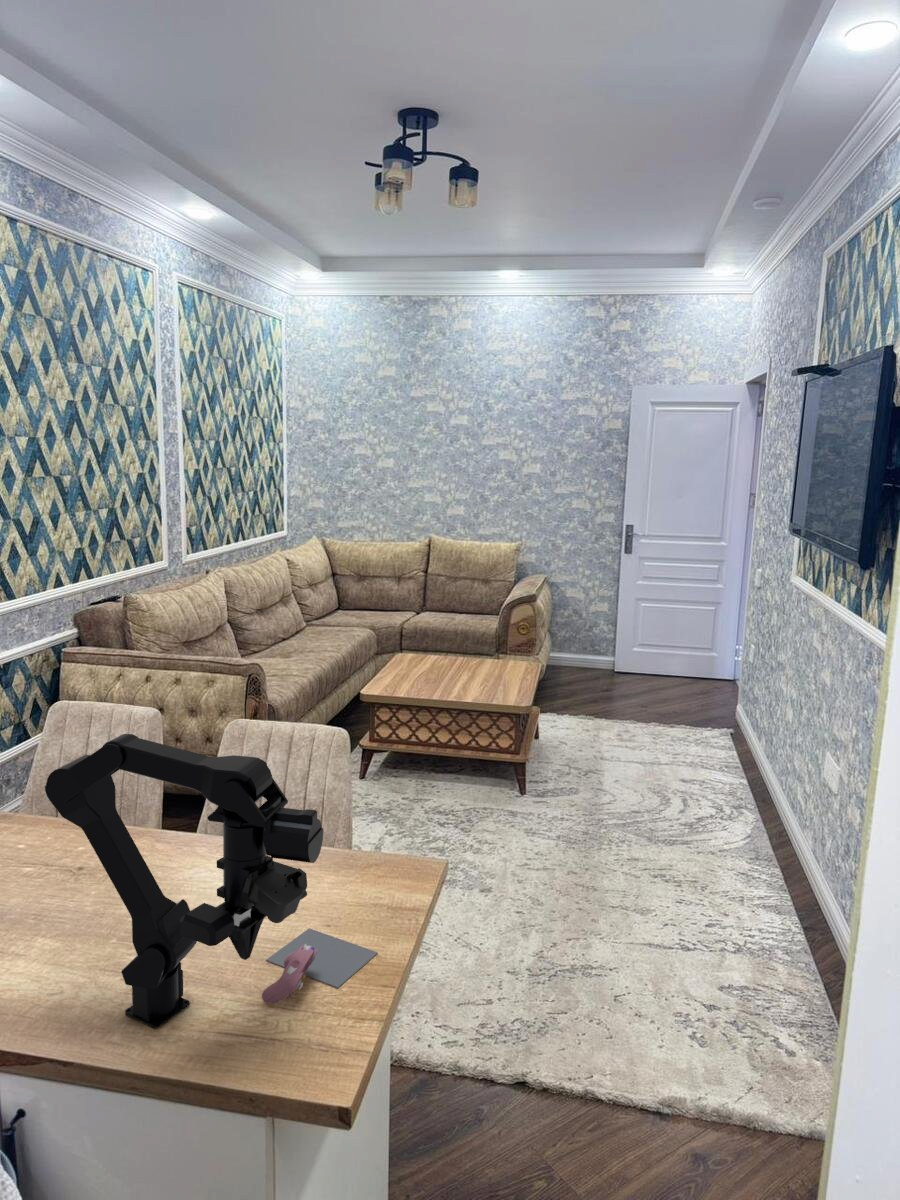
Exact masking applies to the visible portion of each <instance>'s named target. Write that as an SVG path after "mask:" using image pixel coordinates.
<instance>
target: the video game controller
mask: <svg viewBox="0 0 900 1200" xmlns="http://www.w3.org/2000/svg"><path fill="white" fill-rule="evenodd" d="M317 951H318V950H317V949H316V948H314V947H312V946H308V945H306V944H305V945H302V946H301V947H300V948H299V949H298V950H297V951H295V952H293V953H291V954H290V955H288V956H287V957H286V959H285V960H284V966H285V968H284V970H283V973H282V975H281V976H280V977H279V979H277V980H276V981H275V982H273V983H272V984H271V985H269V986H267V987H266V988H265V989H264V990H263V991H262V994H261V999H262V1001H263V1002H264V1003H266V1004H276V1003H279V1002H281V1001H282V1000H284V999H286V998H288V997H291V996H292V995H293V993H294V991H296V990H297V989H298V991H300V990H301V989H302V988H303V986H304V982H303V981H302V980H305V978H306V975H305V972H306V970H307V969H308V967H309V966H310V965H311V964H312V962H313V961H314V959H315V956H316V954H317Z"/></svg>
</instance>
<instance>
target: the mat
mask: <svg viewBox="0 0 900 1200" xmlns="http://www.w3.org/2000/svg"><path fill="white" fill-rule="evenodd" d="M305 944H306V945H308V946H312V947H314V948H316V949H317V950H318V951H317V954H316V956H315V959H314V961H313V962H312V964H311V965H310V966H309V967H308V969H307V970H306V972H305V975H306V977H307V978H309V979H312V980H315V981H317V982H320V983H322V984H325V985H327V986H331V987H333V988H336V989H339V988H341V986H343V985H344V984H345V983H346V982H348V980H349V979H351V978H352V977H353V976H354V975H355V974H357V972H358V971H360V970H361V969H362V968H363V967H364V966H366V964H368V963H369V962H370V961H371V960H372V959H374V958H375V957H376V956H377V955H378V954H379V952H378V951H375V950H372V949H369V948H367V947H363V946H360V945H358V944H355V943H352V942H349V941H347V940H343V939H341V938H338V937H335V936H333V935H329V934H327V933H323V932H321V931H318V930H315V929H313V928H310V927H309V928H307V929H306V930H304V931H303V932H302V933H301V934H299V935H298V936H297V937H295V938H294V939H292V940H291V941H289V942H288V943H287V944H285V945H284V946H282V947H281V948H280V949H279V950H278V951H276V952H274V953H273V954H272V955H270V956H269V957H268V958H267V959H265V962H268V963H271V964H273V965H275V966H278V967H280V968H282V969H286V968H285V966H284V960H285V959H286V957H287V956H288V955H290V954H291V953H293V952H295V951H297V950H298V949H299V948H300V947H301V946H302V945H305ZM306 977H305V978H306Z"/></svg>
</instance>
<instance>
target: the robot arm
mask: <svg viewBox="0 0 900 1200" xmlns="http://www.w3.org/2000/svg"><path fill="white" fill-rule="evenodd" d="M120 770H121V771H125V772H129V773H132V774H135V775H140V776H144V777H147V778H151V779H153V780H154V779H155V780H157V781H161V782H165V783H170V784H173V785H176V786H181V787H184V788H188V789H190V790H194V791H196V792H199V793H200V794H202V796H203V797H204V798H206V800H208V801H209V803H211V804H214V805H215V806H217V807H216V808H215V810H213V812H211V813H210V814H209V815H207V821H209V822H215V823H222V824H223V826H222V827H223V829H222V833H223V835H222V838H223V840H222V842H223V843H222V845H223V847H222V848H223V849H222V851H223V852H222V853H223V856H222V857H220V858H219V859H217V860H216V869H220V870H223V873H222V874H223V875H222V876H223V878H222V879H223V881H222V882H223V883H222V884H223V885H221V886H219V887H218V888H217V889H216V897H219V898H222V899H224V902H222V903H220V904H219V905H217V906H215V905H211V904H209V903H205V902H203V903H202V904H200V905H198V906H196V907H194V908H193V909H190V907H189V904H188V902H187V901H186V900H185V899H180V901H178V902H177V903H176V901H173V900H172V899H170V898H168V897H166V896H165V895H164V893H163V892H162V890H161V887H160V886H159V884H158V882H157V880H156V879H155V876H154V875H153V873H152V871H151V870H150V868H149V866H148V864H147V862H146V861H145V859H144V857H143V855H142V853H141V852H140V849H139V848H138V847H137V845H136V843H135V840H134V839H133V838H132V836H131V834H130V832H129V831H128V829H127V827H126V825H125V823H124V822H123V820H122V818H121V816H120V815H119V812H118V811H117V807H116V804H117V803H116V800H117V799H116V785H115V782H114V780H113V776H112V775H114V774H115V773H117V772H119V771H120ZM44 791H45V795H46V797H47V798H48V801H49V802H50V803H51V804H52V806H53V807H54V808H55V809H56V811H57V812H58V813H59V815H60V816H61V817H62V818H64V819H65V820H67V821H68V822H70V823H73V825H75V826H77V827H79V828H81V830H82V831H83V832H84V835H85V837H86V838H87V840H88V842H89V844H90V845H91V847H92V849H93V851H94V852H95V854H96V856H97V857H98V859H99V862H100V863H101V866H102V867H103V869H104V870H105V872H106V874H107V876H108V878H109V879H110V881H111V883H112V885H113V886H114V888H115V890H116V891H117V894H118V896H119V897H120V899H121V901H122V903H123V904H124V906H125V908H126V910H127V911H128V913H129V915H130V917H131V931H132V932H131V936H132V937H131V939H132V944H133V947H134V950H135V953H136V956H135V957H134V958H133V959H132V960H131V961H130V962H129V963H128V964H127V965H126V966H125V967H124V968H123V969H122V970H121V975H122V977H123V981H124V984H125V986H131V994H132V995H131V997H132V998H131V999H132V1005H131V1006H129V1007H128V1008H126V1009H125V1011H124V1014H125V1016H127V1017H129V1018H131V1019H134V1020H136V1021H137V1022H140V1023H142V1024H145V1025H147V1026H149V1027H151V1028H153V1029H158V1028H160V1027H161V1026H163V1025H164V1024H166V1023H167V1022H169V1021H170V1020H171V1019H173V1018H174V1017H175V1016H177V1015H178V1014H179V1013H181V1012H182V1011H184V1010H185V1009H187V1008H188V1007H189V1006H190V1004H191V1001H190V1000H188V999H186V998H184V997H183V996H184V971H183V969H182V961H183V960H184V959H185V958H186V957H187V955H188V954H189V953H190V952H191V950H193V948H194V947H195V946H196V944H197V942H198V943H199V944H200V943H201V944H204V945H205V946H208V947H214V946H218V945H219V944H220V943H222V942H224V941H225V940H227V938H229V940H230V942H231V943H232V945H233V947H234V949H235V950H236V953H237V954H238V956H239V958H240V959H241V960H244V961H246V960H248V959H249V958H250V957H251V955H252V952H253V949H254V947H255V943H256V941H257V938H258V934H259V932H260V929H261V927H262V924H263V921H264V919H266V918H267V919H268V920H269V921H270V922H271V923H274V924H280V923H282V922H283V921H284V920H285V919H286V918H287V917H290V915H291V916H292V915H294V914H295V913H296V912H297V910H298V907H299V905H300V902H301V900H303V899H305V898H306V897H307V896H308V892H307V889H308V888H307V887H308V877H307V872H305V871H304V870H302V869H301V868H300V867H299V868H296V867H294V866H291V865H288V864H284V863H281V862H277V861H274V859H280V860H287V861H294V862H295V861H296V862H302V863H310V864H315V863H316V861H317V860H318V858H319V856H320V853H321V850H322V847H323V840H324V828H323V827H322V826H323V825H322V822H321V820H320V818H319V819H318V810H316V809H308V808H307V809H297V808H290V807H289V808H287V807H285V806H286V805H288V803H289V800H288V798H287V797H286V795H285V794H284V792H283V790H281V788H280V786H279V785H278V784H277V782H276V781H275V780H274V777H273V775H272V772H271V769H270V768H269V765H268V763H267V762H266V761H265V760H263V759H261V758H259V757H256V756H246V755H223V756H210V755H209V756H208V755H205V754H202V753H201V754H200V753H197V752H194V751H189V750H186V749H182V748H178V747H175V746H171V745H168V744H162V743H160V742H156V741H151V740H147V739H144V738H140V737H138V736H137V735H135V734H133V733H123V734H120V735H118V736H117V737H115V738H112V739H111V740H108V741H107V742H105V743H104V744H103V745H102V747H100V748H99V749H97V750H96V751H94V752H93V753H91V754H84V755H82V756H79V757H78V758H75V759H74V760H71V761H70V762H68V763H66V764H64V765H62V766H61V767H58V768H56V769H54V770H53V771H52V772H50V773H49V775H48V777H47V779H46V783H45V785H44ZM262 798H264V799H265V800H266V801H265V802H263V804H261V805H260V806H258V805H257V802H259V801H260V800H261V799H262Z"/></svg>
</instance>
